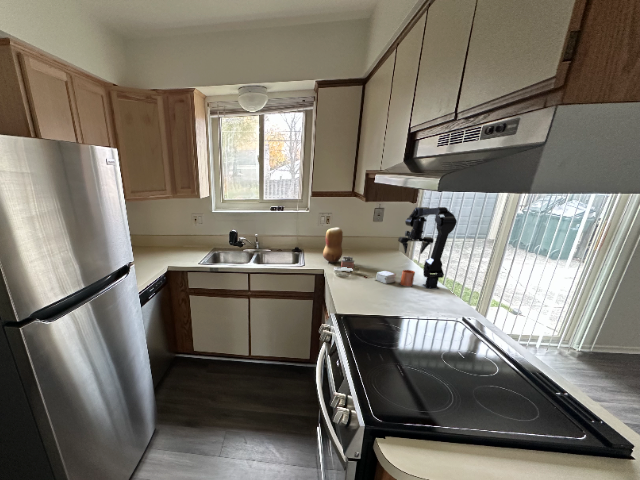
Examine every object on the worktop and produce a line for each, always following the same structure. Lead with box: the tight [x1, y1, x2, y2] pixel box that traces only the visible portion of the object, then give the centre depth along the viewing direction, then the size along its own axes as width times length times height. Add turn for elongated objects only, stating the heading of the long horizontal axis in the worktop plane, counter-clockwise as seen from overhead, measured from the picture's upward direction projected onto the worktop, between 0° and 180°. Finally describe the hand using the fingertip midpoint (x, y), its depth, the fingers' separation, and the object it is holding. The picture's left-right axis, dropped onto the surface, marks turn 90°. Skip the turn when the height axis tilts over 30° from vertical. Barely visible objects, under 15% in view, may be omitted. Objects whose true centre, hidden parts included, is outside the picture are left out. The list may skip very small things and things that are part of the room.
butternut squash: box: [322, 227, 344, 263], centre depth 228 cm, size 14×13×25 cm
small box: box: [375, 270, 397, 285], centre depth 192 cm, size 8×8×5 cm
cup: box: [399, 269, 416, 287], centre depth 186 cm, size 6×6×8 cm
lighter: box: [340, 255, 355, 270], centre depth 211 cm, size 8×3×10 cm, turn 74°
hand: (413, 253), depth 199 cm, fingers open, 9 cm apart
